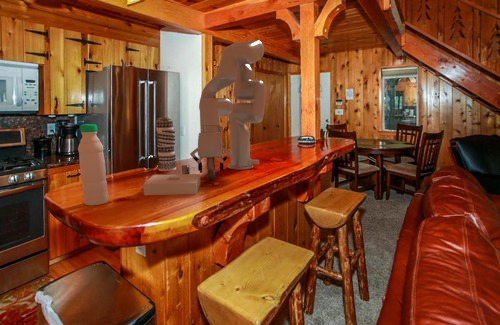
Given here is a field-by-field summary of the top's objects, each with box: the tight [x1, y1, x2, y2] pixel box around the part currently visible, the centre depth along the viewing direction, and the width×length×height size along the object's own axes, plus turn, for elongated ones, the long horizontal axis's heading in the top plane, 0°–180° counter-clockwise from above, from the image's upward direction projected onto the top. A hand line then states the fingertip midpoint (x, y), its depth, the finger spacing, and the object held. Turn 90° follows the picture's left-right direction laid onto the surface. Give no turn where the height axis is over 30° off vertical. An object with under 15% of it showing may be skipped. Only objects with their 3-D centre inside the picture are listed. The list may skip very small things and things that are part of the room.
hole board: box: [143, 173, 201, 196], centre depth 111 cm, size 18×14×4 cm
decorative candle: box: [154, 117, 177, 172], centre depth 145 cm, size 9×9×25 cm
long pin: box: [206, 157, 216, 182], centre depth 124 cm, size 3×3×11 cm
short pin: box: [181, 164, 191, 174], centre depth 128 cm, size 3×3×6 cm
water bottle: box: [77, 123, 109, 207], centre depth 94 cm, size 7×7×25 cm
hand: (211, 171), depth 124 cm, fingers open, 7 cm apart
